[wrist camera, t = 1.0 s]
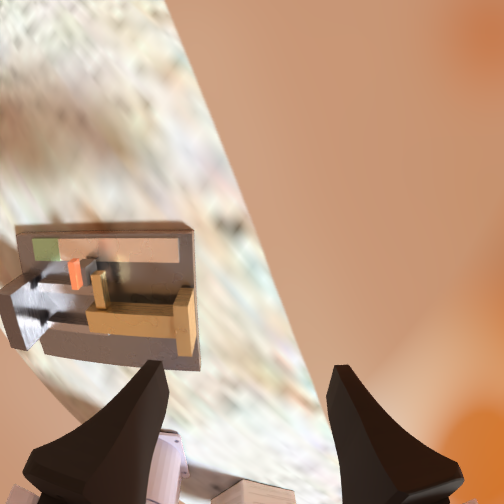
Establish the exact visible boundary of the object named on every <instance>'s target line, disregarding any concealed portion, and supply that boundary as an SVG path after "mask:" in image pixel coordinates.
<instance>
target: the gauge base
mask: <svg viewBox="0 0 504 504" xmlns="http://www.w3.org/2000/svg"><path fill="white" fill-rule="evenodd" d="M16 237H17V244H18V250H19V256H20V262H21V267H22V272H23V274H22V275H20V276H19V277H17V278H16V279H15V280H13V281H12V282H10V283H9V284H7V285H6V286H4V287H3V288H1V289H0V315H1V318H2V321H3V325H4V328H5V331H6V334H7V337H8V340H9V342H10V345H11V347H12V348H15V349H20V350H24V351H28V350H29V349H30V348H31V347H32V346H33V344H34V343H35V342H36V341H37V340H38V339H39V338H40V341H41V344H42V347H43V350H44V353H45V354H47V355H52V356H58V357H64V358H70V359H76V360H82V361H89V362H96V363H104V364H112V365H121V366H130V367H142V366H143V365H144V364H145V363H146V361H147V360H158V361H162V363H163V367H164V369H166V370H182V371H200V369H201V355H200V342H199V328H198V312H197V294H196V273H195V247H194V230H130V231H65V232H26V233H21V234H18V235H16ZM73 258H79V261H80V260H82V259H96V264H97V270H104V271H106V278H107V285H108V291H109V297H110V302H124V303H144V304H170V305H173V304H174V302H175V299H176V297H177V294H178V292H179V290H180V288H194V303H195V319H196V333H197V335H196V340H195V344H194V349H193V354H192V357H188V356H178V352H177V343H176V339H173V338H155V337H139V336H126V335H114V334H104V333H94V332H90V330H89V325H88V321H87V317H86V312H85V311H86V310H87V309H88V308H89V306H90V305H91V304H92V303H93V302H94V301H95V299H94V293H93V287H92V283H91V284H90V285H89V286H88V287H86V286H82V287H81V288H80V289H79V290H72V286H71V281H70V275H69V269H68V263H67V262H69V261H70V260H71V259H73Z"/></svg>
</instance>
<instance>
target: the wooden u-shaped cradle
mask: <svg viewBox="0 0 504 504" xmlns="http://www.w3.org/2000/svg"><path fill="white" fill-rule="evenodd" d="M91 281H92V287H93V293H94V299H95V301H94V302H93V303H92V304H91V305H90V306H89V308H88V309H87V310H86V311H85V312H86V317H87V321H88V325H89V330H90V332H94V333H104V334H114V335H126V336H139V337H155V338H173V339H176V343H177V352H178V356H188V357H192V354H193V349H194V344H195V340H196V335H197V333H196V319H195V303H194V288H180V290H179V292H178V294H177V297H176V299H175V302H174V304H173V305H170V304H144V303H124V302H110V297H109V291H108V285H107V278H106V271H104V270H96V271H95V272H94V273H92V274H91Z"/></svg>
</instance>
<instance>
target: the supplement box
mask: <svg viewBox="0 0 504 504" xmlns="http://www.w3.org/2000/svg"><path fill="white" fill-rule="evenodd" d="M211 504H296V500H295V494H294V491H291V490H286V489H281V488H276V487H272V486H268V485H264V484H260V483H256V482H252V481H248V480H244V479H243V480H242V481H240V482H239V483H237V484H236V485H234V486H232V487H231V488H229V489H228V490H226V491H225V492H223V493H221V494H220V495H218V496H217V497H215V498H213V499H211Z"/></svg>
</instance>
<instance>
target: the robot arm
mask: <svg viewBox="0 0 504 504" xmlns="http://www.w3.org/2000/svg"><path fill="white" fill-rule="evenodd" d="M168 397H169V389H168V385H167V380H166V376H165V372H164V367H163V363H162V361H158V360H147V361H146V363H145V364H144V365H143V366H142V367H141V368H140V370H139V371H138V372H137V373H136V374H135V376H134V377H133V378H132V379H131V380H130V381H129V382H128V383H127V385H126V386H125V387H124V388H123V389H122V390H121V391H120V392H119V393H118V394H117V395H116V396H115V397H114V398H113V399H112V400H111V401H110V402H109V403H108V404H107V405H106V406H105V407H104V408H103V409H101V410H100V411H99V412H98V413H97V414H95V415H94V416H93V417H92V418H90V419H89V420H88V421H86V422H85V423H84V424H82V425H81V426H79V427H78V428H76V429H75V430H73V431H72V432H70V433H68V434H66V435H64V436H63V437H61V438H59V439H57V440H55V441H53V442H51V443H48V444H46V445H43V446H41V447H39V448H36V449H33V451H32V452H31V454H30V456H29V458H28V460H27V463H26V465H25V467H24V469H23V475H24V476H25V478H26V479H27V480H28V481H29V482H31V483H32V484H33V485H34V486H35V487H36V488H37V489H38V490H40V491H41V492H42V493H41V496H40V497H39V496H37V495H35V494H34V493H32V492H30V491H28V490H26V489H24V488H22V487H20V486H18V485H16V484H14V485H13V488H12V490H11V492H10V495H9V497H8V499H7V502H6V504H178V503H179V495H180V487H181V480H182V478H189V477H190V473H189V469H188V465H187V461H186V457H185V453H184V448H183V444H182V439H181V436H180V435H179V434H173V433H162V432H160V430H161V427H162V423H163V420H164V417H165V414H166V409H167V403H168ZM326 399H327V407H328V417H329V421H330V426H331V430H332V434H333V438H334V442H335V447H336V451H337V455H338V460H339V465H340V475H341V486H342V501H343V504H450V500H449V496H450V495H451V494H452V493H453V492H455V491H456V490H457V489H458V488H459V487H460V486H461V485H462V484H463V482H464V477H463V474H462V472H461V469H460V467H459V465H458V463H457V462H455V461H453V460H451V459H449V458H447V457H445V456H443V455H441V454H439V453H437V452H435V451H434V450H432V449H430V448H429V447H427V446H426V445H424V444H423V443H421V442H420V441H419V440H417V439H416V438H414V437H413V436H412V435H410V434H409V433H408V432H406V431H405V430H404V429H403V428H402V427H401V426H400V425H399V424H398V423H396V422H395V421H394V420H393V419H392V418H391V417H390V416H389V415H388V414H387V413H386V412H385V410H384V409H383V408H382V407H381V406H380V405H379V404H378V403H377V401H376V400H375V399H374V398H373V397H372V395H371V394H370V393H369V392H368V390H367V389H366V388H365V386H364V385H363V384H362V382H361V381H360V380H359V378H358V377H357V376H356V374H355V373H354V371H353V370H352V369H351V367H350V366H349V365H335V366H334V369H333V373H332V377H331V380H330V384H329V388H328V392H327V395H326ZM463 504H478V502H477V500H476V499H472V500H470V501H468V502H466V503H463Z"/></svg>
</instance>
